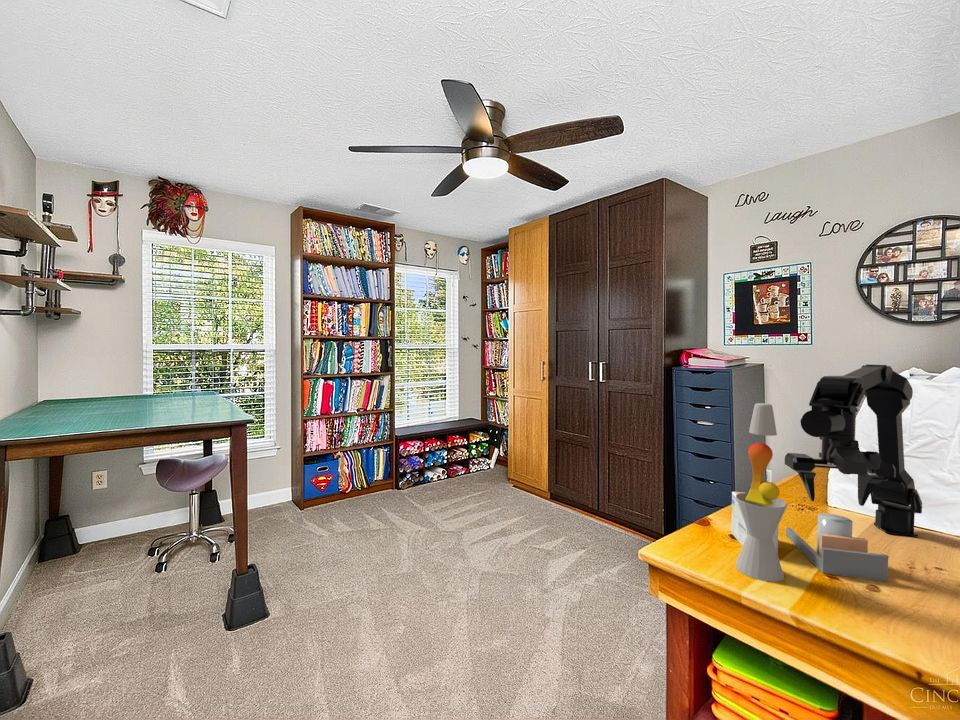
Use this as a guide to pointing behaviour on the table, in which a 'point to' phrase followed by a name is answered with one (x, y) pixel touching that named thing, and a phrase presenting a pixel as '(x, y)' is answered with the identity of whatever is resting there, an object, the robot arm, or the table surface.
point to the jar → (833, 526)
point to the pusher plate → (843, 543)
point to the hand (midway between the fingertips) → (836, 503)
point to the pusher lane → (844, 560)
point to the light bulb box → (743, 524)
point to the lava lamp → (761, 506)
